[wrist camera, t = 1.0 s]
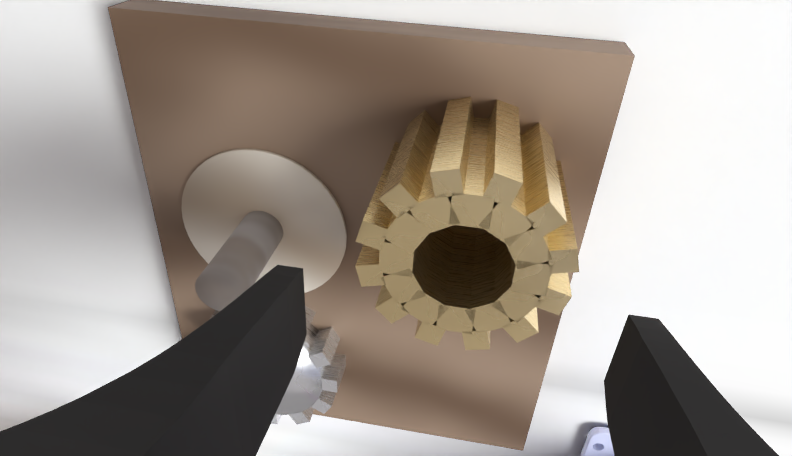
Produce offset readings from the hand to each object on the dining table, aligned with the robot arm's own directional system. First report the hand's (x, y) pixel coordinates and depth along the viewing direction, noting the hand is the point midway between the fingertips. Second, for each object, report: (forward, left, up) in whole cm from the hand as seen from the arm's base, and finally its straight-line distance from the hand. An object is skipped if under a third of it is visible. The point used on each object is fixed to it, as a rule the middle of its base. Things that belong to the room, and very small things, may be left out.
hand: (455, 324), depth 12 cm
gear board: (-5, +4, -9) cm, 11 cm away
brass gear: (0, 0, -7) cm, 7 cm away
